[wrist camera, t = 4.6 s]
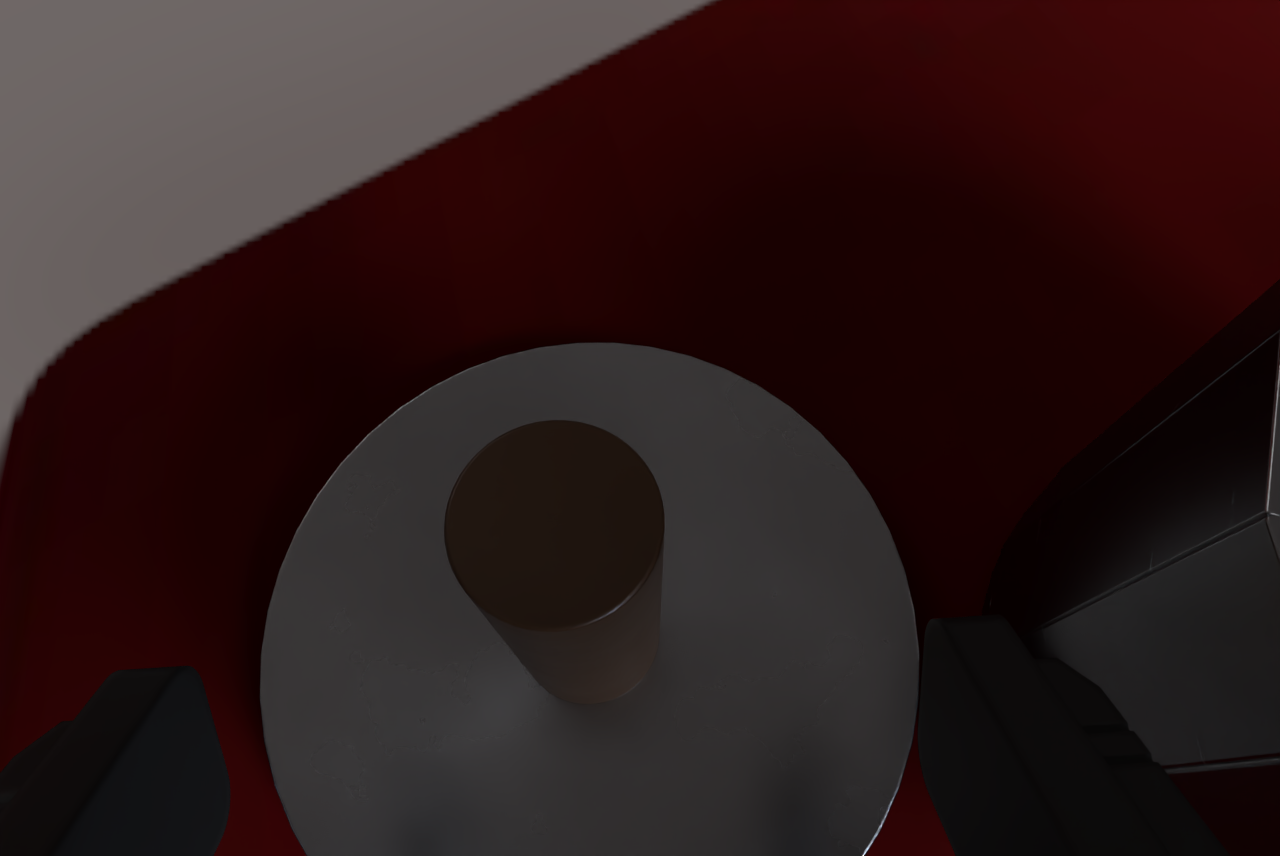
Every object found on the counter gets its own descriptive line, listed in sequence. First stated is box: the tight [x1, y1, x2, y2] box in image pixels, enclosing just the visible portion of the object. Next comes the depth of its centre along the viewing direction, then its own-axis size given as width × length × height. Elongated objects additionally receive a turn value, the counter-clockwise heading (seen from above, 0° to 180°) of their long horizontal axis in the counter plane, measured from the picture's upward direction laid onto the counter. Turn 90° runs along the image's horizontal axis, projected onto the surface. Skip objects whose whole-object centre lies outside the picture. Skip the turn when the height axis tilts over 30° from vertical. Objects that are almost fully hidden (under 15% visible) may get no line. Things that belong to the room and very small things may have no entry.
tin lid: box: [260, 342, 920, 856], centre depth 15 cm, size 12×12×8 cm
